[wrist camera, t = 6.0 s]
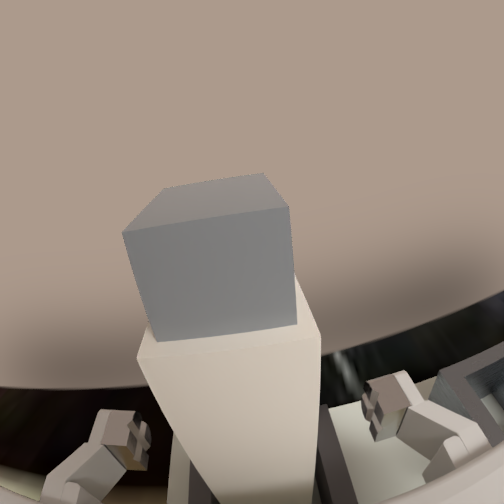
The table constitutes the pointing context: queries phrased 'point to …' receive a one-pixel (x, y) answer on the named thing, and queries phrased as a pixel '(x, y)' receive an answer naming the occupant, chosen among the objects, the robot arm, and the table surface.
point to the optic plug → (230, 336)
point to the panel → (336, 460)
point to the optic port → (473, 389)
